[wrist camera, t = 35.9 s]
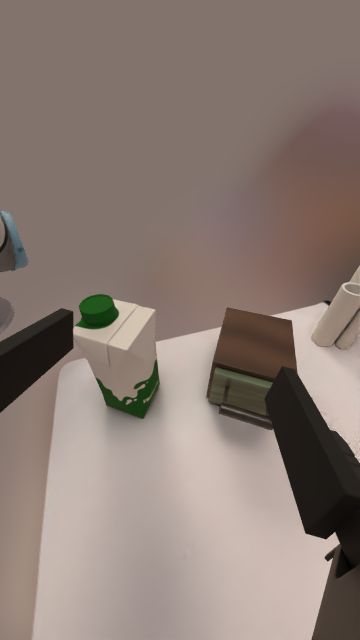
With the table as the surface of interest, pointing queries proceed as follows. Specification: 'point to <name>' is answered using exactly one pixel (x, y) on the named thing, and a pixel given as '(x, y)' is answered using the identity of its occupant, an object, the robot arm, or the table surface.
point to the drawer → (241, 397)
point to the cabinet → (254, 345)
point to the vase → (341, 317)
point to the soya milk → (120, 351)
